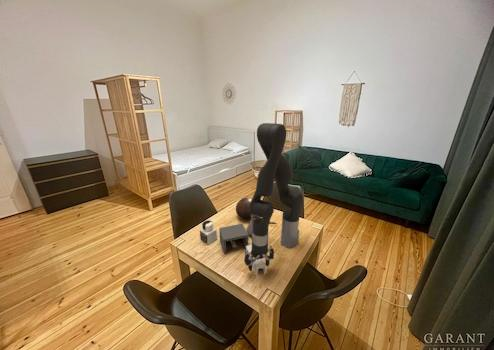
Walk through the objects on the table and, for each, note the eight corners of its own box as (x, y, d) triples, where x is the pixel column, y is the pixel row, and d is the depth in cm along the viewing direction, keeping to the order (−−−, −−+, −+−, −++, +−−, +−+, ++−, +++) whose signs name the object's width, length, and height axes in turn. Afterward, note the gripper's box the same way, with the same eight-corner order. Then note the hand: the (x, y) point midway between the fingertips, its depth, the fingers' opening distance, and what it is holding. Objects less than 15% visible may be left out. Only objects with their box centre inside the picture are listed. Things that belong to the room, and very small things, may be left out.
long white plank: (245, 253, 111) (245, 246, 109) (254, 251, 113) (254, 244, 111) (256, 276, 97) (256, 268, 95) (265, 273, 99) (266, 265, 97)
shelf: (248, 248, 115) (248, 234, 111) (224, 254, 110) (223, 239, 107) (242, 236, 124) (242, 223, 121) (220, 241, 120) (219, 228, 117)
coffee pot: (242, 233, 127) (242, 212, 122) (255, 225, 135) (255, 206, 130) (268, 250, 113) (270, 227, 108) (281, 240, 121) (282, 219, 115)
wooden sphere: (259, 222, 139) (260, 202, 134) (238, 225, 135) (238, 205, 130) (253, 211, 152) (253, 193, 147) (234, 213, 149) (233, 195, 143)
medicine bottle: (200, 239, 122) (198, 222, 117) (209, 234, 127) (208, 217, 122) (207, 245, 117) (206, 227, 113) (217, 239, 122) (216, 222, 118)
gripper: (270, 232, 98) (269, 259, 104) (242, 238, 94) (242, 265, 100) (277, 242, 92) (275, 269, 97) (247, 248, 87) (247, 277, 93)
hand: (258, 267), depth 99 cm, fingers open, 8 cm apart
